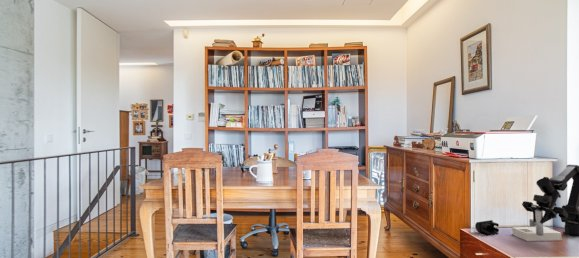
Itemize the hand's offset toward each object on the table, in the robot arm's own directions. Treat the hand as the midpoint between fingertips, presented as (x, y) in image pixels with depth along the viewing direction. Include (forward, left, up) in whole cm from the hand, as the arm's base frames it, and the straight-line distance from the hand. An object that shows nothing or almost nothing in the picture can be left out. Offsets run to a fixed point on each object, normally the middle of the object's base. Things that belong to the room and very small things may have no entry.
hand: (537, 222), depth 159 cm
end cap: (+15, -19, -11) cm, 26 cm away
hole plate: (-6, -10, -11) cm, 16 cm away
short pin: (-11, -18, -11) cm, 24 cm away
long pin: (-1, -1, -7) cm, 7 cm away
